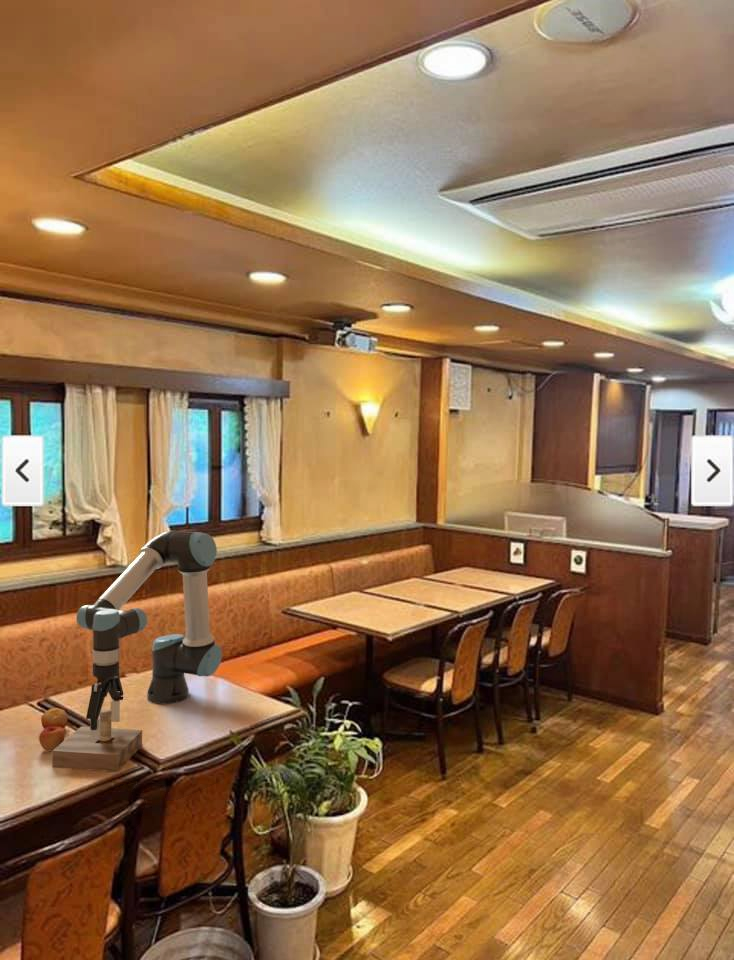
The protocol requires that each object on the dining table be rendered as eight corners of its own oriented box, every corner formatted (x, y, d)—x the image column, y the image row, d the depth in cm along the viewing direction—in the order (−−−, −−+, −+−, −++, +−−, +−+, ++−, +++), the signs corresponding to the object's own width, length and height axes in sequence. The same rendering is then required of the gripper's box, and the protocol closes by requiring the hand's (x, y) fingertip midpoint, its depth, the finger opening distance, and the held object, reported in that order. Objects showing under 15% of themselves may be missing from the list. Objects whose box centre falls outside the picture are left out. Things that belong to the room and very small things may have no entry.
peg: (102, 753, 217) (102, 709, 217) (113, 754, 217) (113, 709, 216) (96, 758, 214) (97, 713, 213) (108, 759, 214) (108, 714, 213)
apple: (63, 753, 216) (63, 728, 216) (37, 756, 214) (37, 730, 214) (66, 743, 223) (66, 719, 223) (41, 746, 221) (41, 721, 221)
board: (81, 741, 225) (81, 726, 225) (142, 745, 224) (142, 729, 224) (52, 767, 207) (52, 750, 207) (117, 771, 206) (117, 755, 206)
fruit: (59, 717, 240) (64, 701, 237) (67, 735, 236) (72, 719, 232) (34, 723, 235) (39, 707, 231) (42, 742, 230) (47, 725, 227)
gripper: (112, 649, 227) (111, 713, 228) (73, 674, 202) (73, 746, 203) (134, 650, 226) (133, 715, 227) (99, 676, 201) (98, 748, 202)
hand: (105, 730), depth 215 cm, fingers open, 13 cm apart
